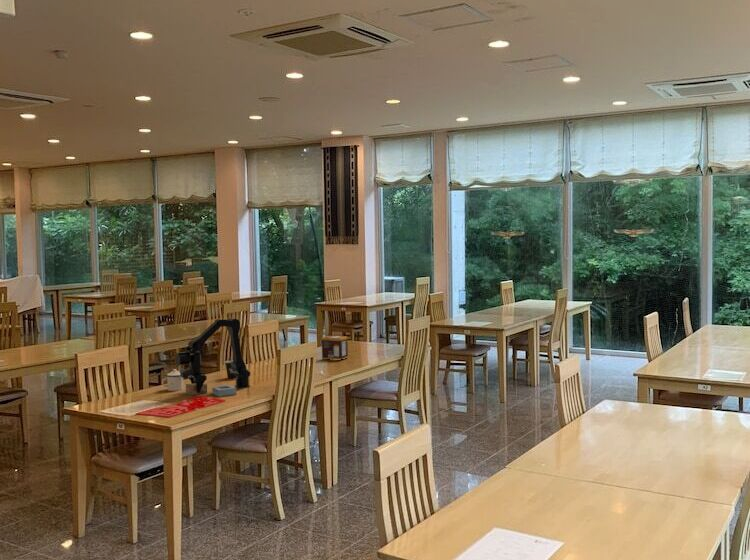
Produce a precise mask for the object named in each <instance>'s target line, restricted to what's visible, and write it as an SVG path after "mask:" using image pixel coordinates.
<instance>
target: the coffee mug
mask: <svg viewBox="0 0 750 560" xmlns="http://www.w3.org/2000/svg"><path fill="white" fill-rule="evenodd" d="M224 362H225V368H226V369H225V370H226V375H227V379H228V378H229V379H228V380H234V379H233V378H236V376H235V373H234V372H233V371H232V369H231V364H230V362H233V360H226V361H224ZM245 366H246V367H247V365H246V364H245Z"/></svg>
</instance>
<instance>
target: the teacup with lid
mask: <svg viewBox="0 0 750 560" xmlns="http://www.w3.org/2000/svg"><path fill="white" fill-rule="evenodd" d="M180 372H181V371H179V370H177V369H175V368H174V369H172V371H170V372H169V373H167V374H166V377H165V378H163V379H161V385H162V386H163V387H165V388H166V389H167V391H169V392H177V391H182V390H184V378H182V377H181V375H180ZM165 380H166V381H167V382H166V383H167V385H165V383H164V382H165Z"/></svg>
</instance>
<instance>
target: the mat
mask: <svg viewBox="0 0 750 560" xmlns="http://www.w3.org/2000/svg"><path fill="white" fill-rule="evenodd" d="M208 394H209V393H208V392H207V393H204V394H196V395H188V396H189V397H196V396H204V395H208Z"/></svg>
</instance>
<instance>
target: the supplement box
mask: <svg viewBox="0 0 750 560" xmlns="http://www.w3.org/2000/svg"><path fill="white" fill-rule="evenodd" d="M348 345H349V343H348V336H346V335H345V336H342V335H340V336H339V335H338V336H337V335H328V336H323V337H321V358H322V359H344V358H346V357H348V358H349V356H348V355H349V349H348Z"/></svg>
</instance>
